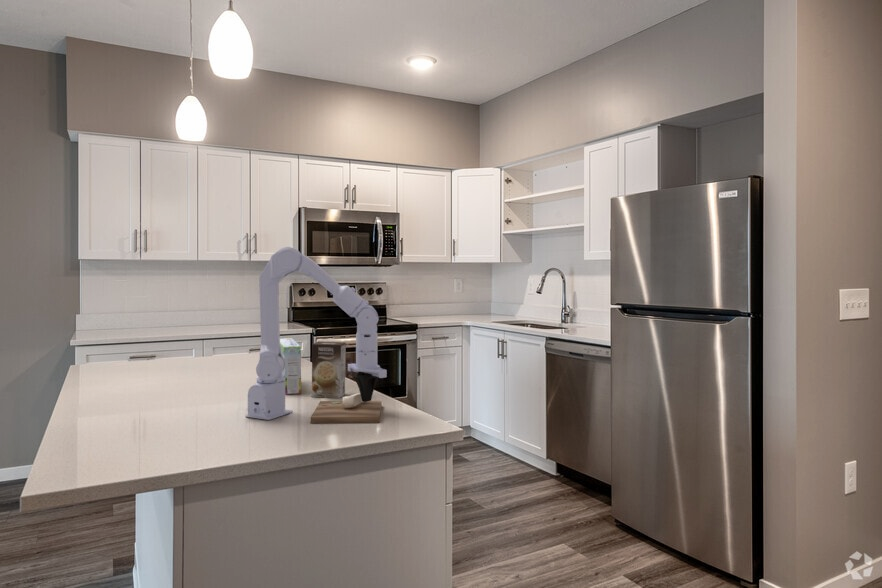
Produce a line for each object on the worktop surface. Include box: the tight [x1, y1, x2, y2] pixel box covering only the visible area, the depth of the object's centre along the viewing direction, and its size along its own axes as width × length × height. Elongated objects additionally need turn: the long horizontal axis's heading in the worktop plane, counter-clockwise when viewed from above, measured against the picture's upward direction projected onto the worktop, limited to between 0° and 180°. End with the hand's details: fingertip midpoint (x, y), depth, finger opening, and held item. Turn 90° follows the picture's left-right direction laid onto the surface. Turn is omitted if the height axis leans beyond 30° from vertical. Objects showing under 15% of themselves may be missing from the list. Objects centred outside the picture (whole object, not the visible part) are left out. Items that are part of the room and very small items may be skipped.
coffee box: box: [310, 341, 347, 399], centre depth 178 cm, size 9×6×16 cm
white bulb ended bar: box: [342, 391, 362, 407], centre depth 159 cm, size 10×3×2 cm, turn 156°
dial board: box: [310, 400, 383, 424], centre depth 155 cm, size 18×17×2 cm
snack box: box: [280, 337, 302, 396], centre depth 189 cm, size 21×6×15 cm, turn 21°
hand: (366, 400), depth 158 cm, fingers closed
